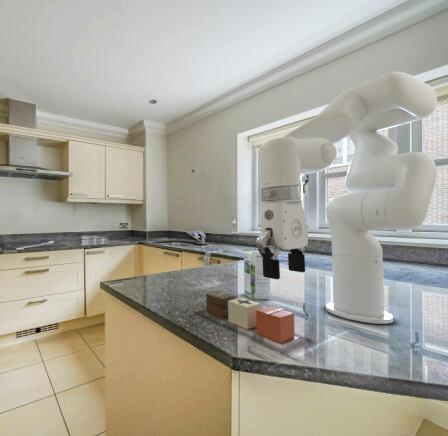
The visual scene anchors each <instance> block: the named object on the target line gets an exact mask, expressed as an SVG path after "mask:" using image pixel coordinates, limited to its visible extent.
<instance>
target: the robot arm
mask: <svg viewBox="0 0 448 436" xmlns="http://www.w3.org/2000/svg"><path fill="white" fill-rule="evenodd" d="M437 105H438V97H437V93H436V91H435V90H434V89H433V87H432V86H431V85H429V84H428V83H426V82H425V81H423V80H421V79H419V78H417V77H416V76H414V75H412V74H409V73H407V72H402V71H390V72H387V73H383V74H381V75H379V76H376V77H373V78H371V79H369V80H367V81H364V82H361V83H359V84H356V85H354V86H352V87H350V88H349V87H348V88H347V89H345V90H343V91H341V92H340V93H338V94H337V95H336V97H334V98H333V100H331V101H330V102H329V104H328V105H326V106H325V107H324V109H322V111H320V112H319V113H318V114H317V115H316V116H314V117H312V118H311V119H309V120H308V121H306V122H304V123H303V124H302V125H300V126H298V127H297V128H294V130H292V131H290V132H289V133H287V134H286V135H284V136H283V137H281V136H280V137H275V138H272V139H269V140H266V141H264V142H262V144H261V145H260V146H259V149H258V156H259V157H258V158H259V178H260V179H259V180H260V199H261V200H260V201H261V211H260V212H261V213H260V235H259V236H258V237H257V238H256V239H255V243H256V246H257V248H258V250H257V252H259V253H260V254H261V258H262V261H263V276H264V277H267V278H270V279H272V280H280V279H281V270H280V269H281V267H280V266H281V265H280V259H278V256H279V254H280V252H281V250H283V251H289V252H288V253H287V263H288V266H287V267H288V271H291V272H296V273H305V272H306V257H305V255H306V252H307V251H306V246H307V245H308V244H309V238H308V237H309V236H308V227H307V226H308V225H307V219H306V217H307V216H306V212H305V207H304V204H303V201H304V200H303V199H304V198H303V181H302V175H307V174H313V173H318V172H321V171H324V170H326V169H328V168H329V167H331V166H332V165H334V163H335V161H336V158H337V154H338V153H337V148H336V146H335V144H337V143H339V142H341V141H343V140H345V139H346V138H348V137H349V140H350V142H351V144H352V147H353V149H354V150H353V151H354V153H353V156H352V159H351V161H350V163H349V166H348V170H347V172H346V175H345V179H344V188H345V190H346V191H347V192H348V193H344V194H340V195H336V196H335V197H332V198H331V199H329V201H328V202H327V204H326V206H325V207H326V208H325V214H326V218H327V223H328V225H329V231H330V239H331V269H332V270H331V271H332V272H331V273H332V302H328V303H326V304H325V310H326V311H327V312H328V313H330V314H332V315H335V316H337V317H339V318H344V319H347V320H351V321H355V322H361V323H367V324H376V325H377V324H378V325H387V324H392V323H394V318H395V317H394V316H393V314H391V313H390V312H387V311H385V300H384V299H385V297H384V296H385V295H384V294H385V293H384V292H385V291H384V290H385V289H384V258H383V257H384V255H383V253H384V252H383V247H382V245H381V243H380V242H379V240H378V239H377V238H376V237H375V236H374V234H372V233H371V232H370V231H411V230H416V229H418V228H419V227H421V226H422V225H423V224H424V222H425V220H426V217H427V215H428V211H429V208H430V203H431V200H432V196H433V192H434V189H435V185H436V181H437V180H436V179H437V173H438V171H437V165H436V162H435V159H434V158H433V157H432V156H431V155H430V154H428V153H426V152H423V151H409V152H402V153H399V146H398V144H397V142H395V141H394V140H393V139H391V138H390V137H388V136H386V135H384V134H381V133H380V132H379V131H382V130H386V129H390V128H394V127H398V126H402V125H405V124H410V123H414V122H417V121H420V120H423V119H425V118H427V117H429V116H430V115H432V114H433V112H434V111H435V110H436V107H437Z"/></svg>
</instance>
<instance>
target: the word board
mask: <svg viewBox="0 0 448 436" xmlns="http://www.w3.org/2000/svg"><path fill="white" fill-rule="evenodd" d="M203 313H204V314H207V315H209V316H211V317H214V318H216V319H219V320H221V321H224V320H226V321H225V322H226V323H228V324H231V325H233V326H236V327H238V328H240V329H243V330H245V331H248V332H251V331H253V330H257V328H256V327H253V328H250V329H245V328H243V327H241V326H238V325H236V324H233V323H231V322H229V320H227V319H228V317H226V318H223V319H222V318H219V317H217V316H215V315H212V314H210V313H207V310H206V311H203ZM253 334H255V335H258V336H260V337H262V338H265V339H267V340H270V341H271V342H274V343H277V344H279V345H281V346H284V345H286V344H288V343H291V342H293V341H296V340H297V339H299V338H300V337H299V336H295V337H294V338H292V339H289V340H287V341H285V342H282V343H279V342H277V341H274V340H272V339H269V338H267V337H265V336H262V335H260V334H257V331H254V332H253Z"/></svg>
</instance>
